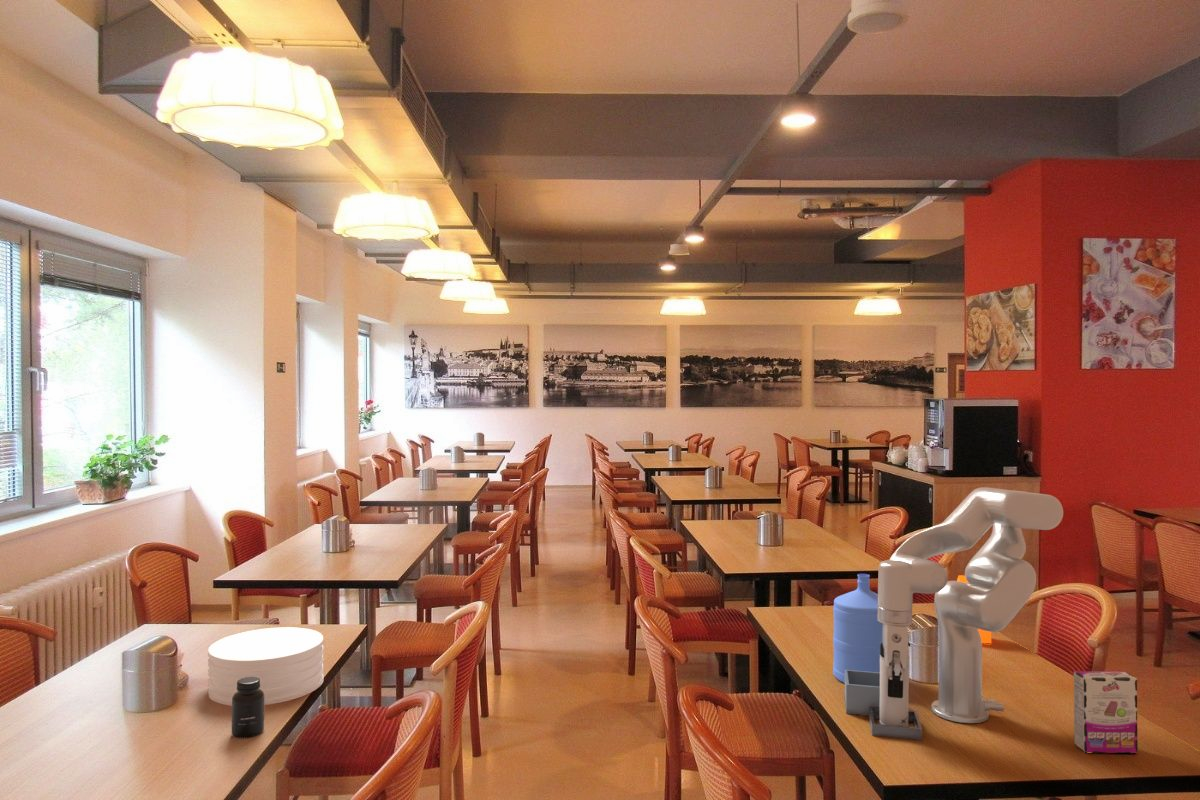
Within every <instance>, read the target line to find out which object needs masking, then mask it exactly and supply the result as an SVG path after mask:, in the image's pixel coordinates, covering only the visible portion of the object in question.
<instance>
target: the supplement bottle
mask: <svg viewBox="0 0 1200 800" xmlns="http://www.w3.org/2000/svg"><path fill="white" fill-rule="evenodd" d="M259 688H260V679H259V678H258V677H246V678H242V679H240V680H238V681H237V692H236V693H235V694H234V695H233V697H232V706H231V735H232V737H234V738H238V739H249V738H253V737H256V736H258V735H261V734H262V733H263V731H264V730H265V705H264V692H263V691H262V690H261V689H259Z"/></svg>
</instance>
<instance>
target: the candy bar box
mask: <svg viewBox="0 0 1200 800" xmlns="http://www.w3.org/2000/svg"><path fill="white" fill-rule="evenodd" d="M1073 715H1074V716H1073V723H1074V725H1073V727H1074V728H1073V729H1074V730H1073V732H1074V734H1073V735H1074V737H1073V738H1074V739H1073V741H1074V742H1073V743H1074V745H1075V744H1076V745H1077V746H1078V747H1079V749H1080V748H1081V749H1082V750H1083V751H1084V752H1083V751H1082V750H1081V749H1080V750H1081V751H1082V752H1083V753H1085V752H1092V753H1139V752H1138V749H1139V748H1138V679H1137V677H1135V676H1134V675H1132V674H1130V673H1128V672H1127V671H1123V670H1122V671H1115V670H1114V671H1109V670H1108V671H1105V670H1103V671H1098V670H1095V671H1093V670H1091V671H1089V670H1086V671H1084V670H1083V671H1081V670H1079V671H1078V670H1074V671H1073ZM1076 745H1075V746H1076ZM1077 746H1076V747H1077ZM1078 747H1077V748H1078Z"/></svg>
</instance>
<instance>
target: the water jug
mask: <svg viewBox="0 0 1200 800" xmlns="http://www.w3.org/2000/svg"><path fill="white" fill-rule="evenodd" d="M870 577H871V576H870V574H869V573H868V574H867V573H858V574H857V581H856V582H857V588H856V589H855V590H852V591H849V592H846V593H844V594H841V595H839V596H837V597H835V598H834V600H833V608H832V609H833V610H832V611H833V613H832V614H833V639H832V640H833V641H832V643H833V666H832V673H833V676H834V678H836V679H837V680H838V681H840V682H841V683H843V684H845V670H856V671H868V672H880V645H881V643H882V627H883V623H881V622H879V621H878V620H877V613H878V593H876V592H874V591H872V590H871V589H870V584H871V581H870Z"/></svg>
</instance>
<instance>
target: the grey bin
mask: <svg viewBox="0 0 1200 800" xmlns="http://www.w3.org/2000/svg"><path fill="white" fill-rule="evenodd" d="M844 703H845V706H844V707H845V714H848V715H856V714H860V715H859V716H866V715H868V717H869V707H879V708H880V672H868V671H856V670H845V683H844Z"/></svg>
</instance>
